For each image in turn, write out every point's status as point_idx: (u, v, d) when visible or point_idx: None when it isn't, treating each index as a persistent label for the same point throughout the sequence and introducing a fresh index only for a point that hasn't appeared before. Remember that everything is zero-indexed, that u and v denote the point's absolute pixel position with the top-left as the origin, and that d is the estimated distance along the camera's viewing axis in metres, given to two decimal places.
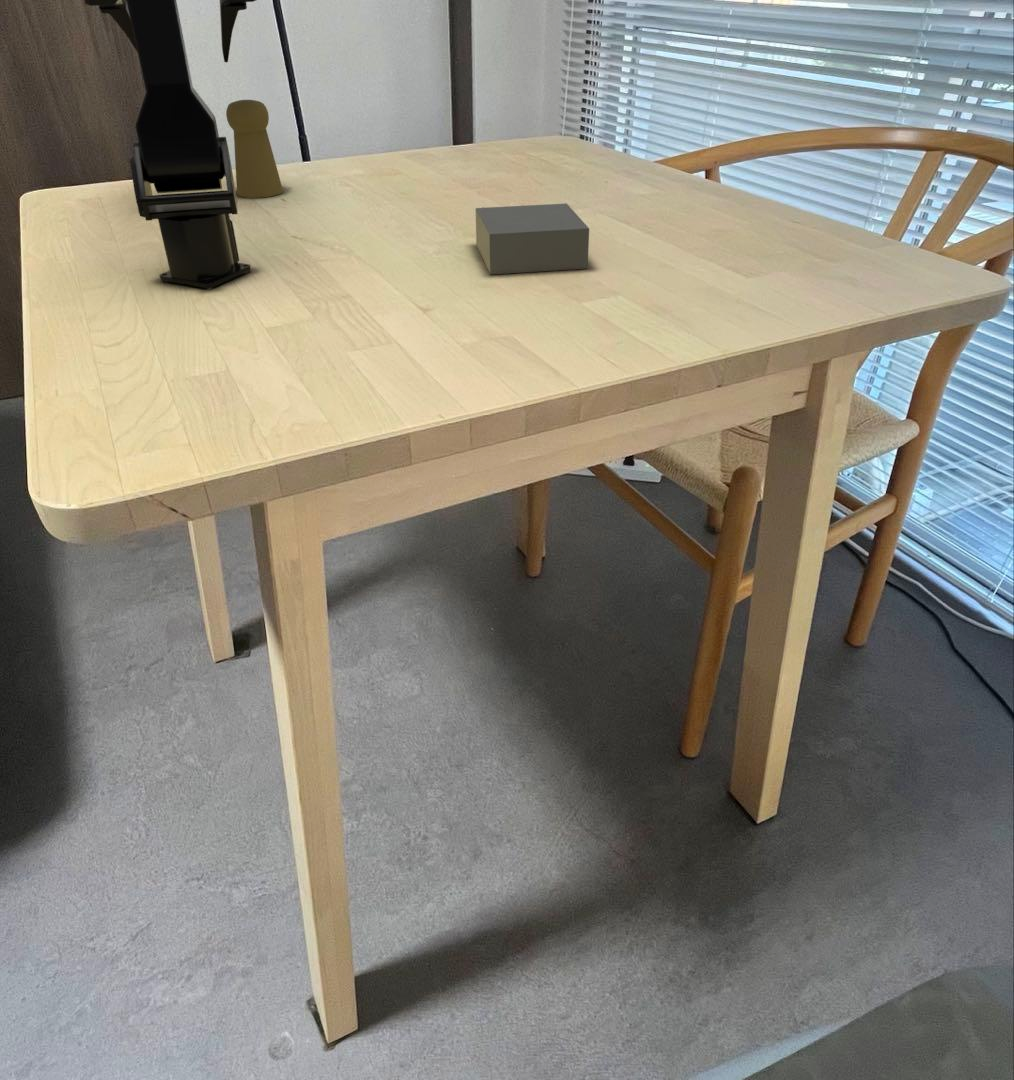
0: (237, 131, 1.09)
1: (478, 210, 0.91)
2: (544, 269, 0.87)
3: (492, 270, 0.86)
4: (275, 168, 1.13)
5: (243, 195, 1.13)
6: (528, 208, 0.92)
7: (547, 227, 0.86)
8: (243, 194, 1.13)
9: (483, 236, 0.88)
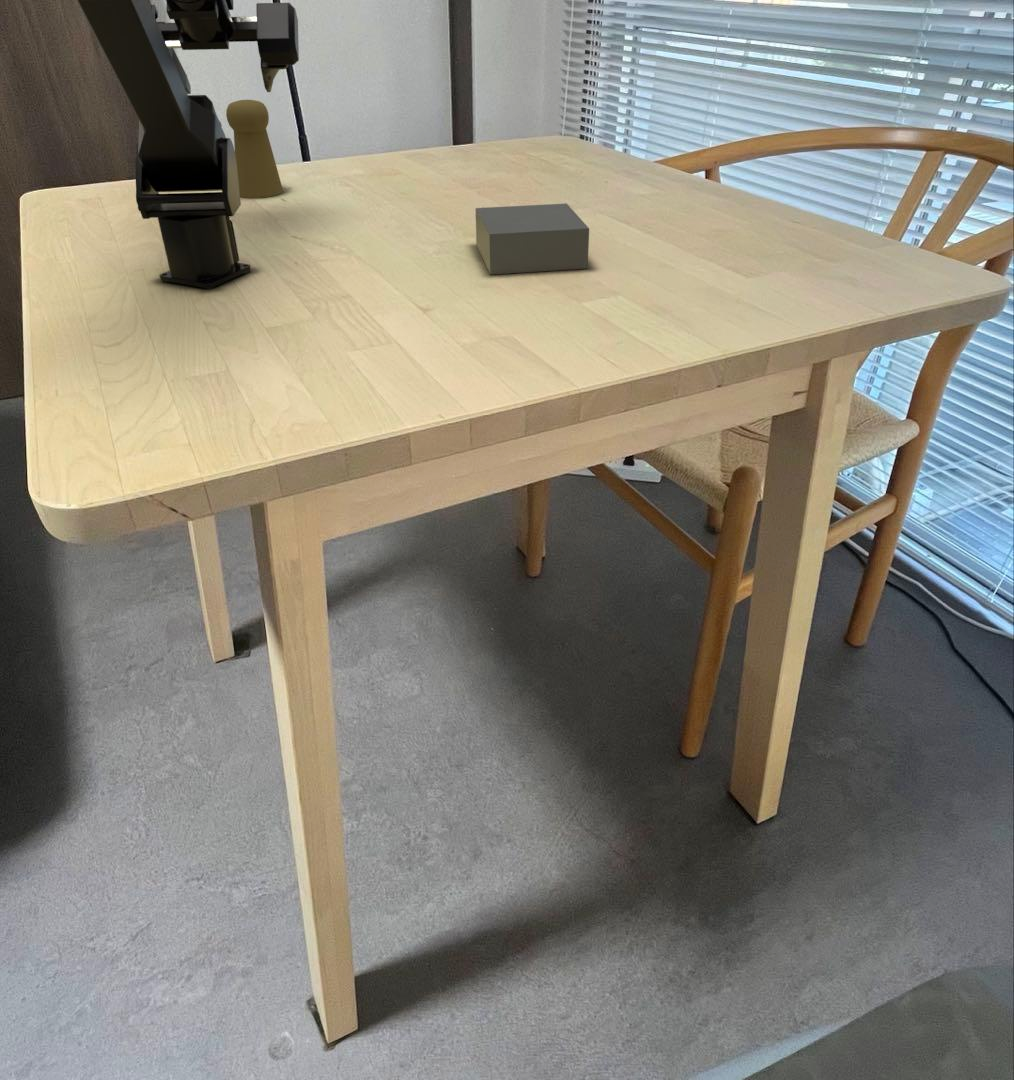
0: (237, 131, 1.09)
1: (478, 210, 0.91)
2: (544, 269, 0.87)
3: (492, 270, 0.86)
4: (275, 168, 1.13)
5: (243, 195, 1.13)
6: (528, 208, 0.92)
7: (547, 227, 0.86)
8: (243, 194, 1.13)
9: (483, 236, 0.88)
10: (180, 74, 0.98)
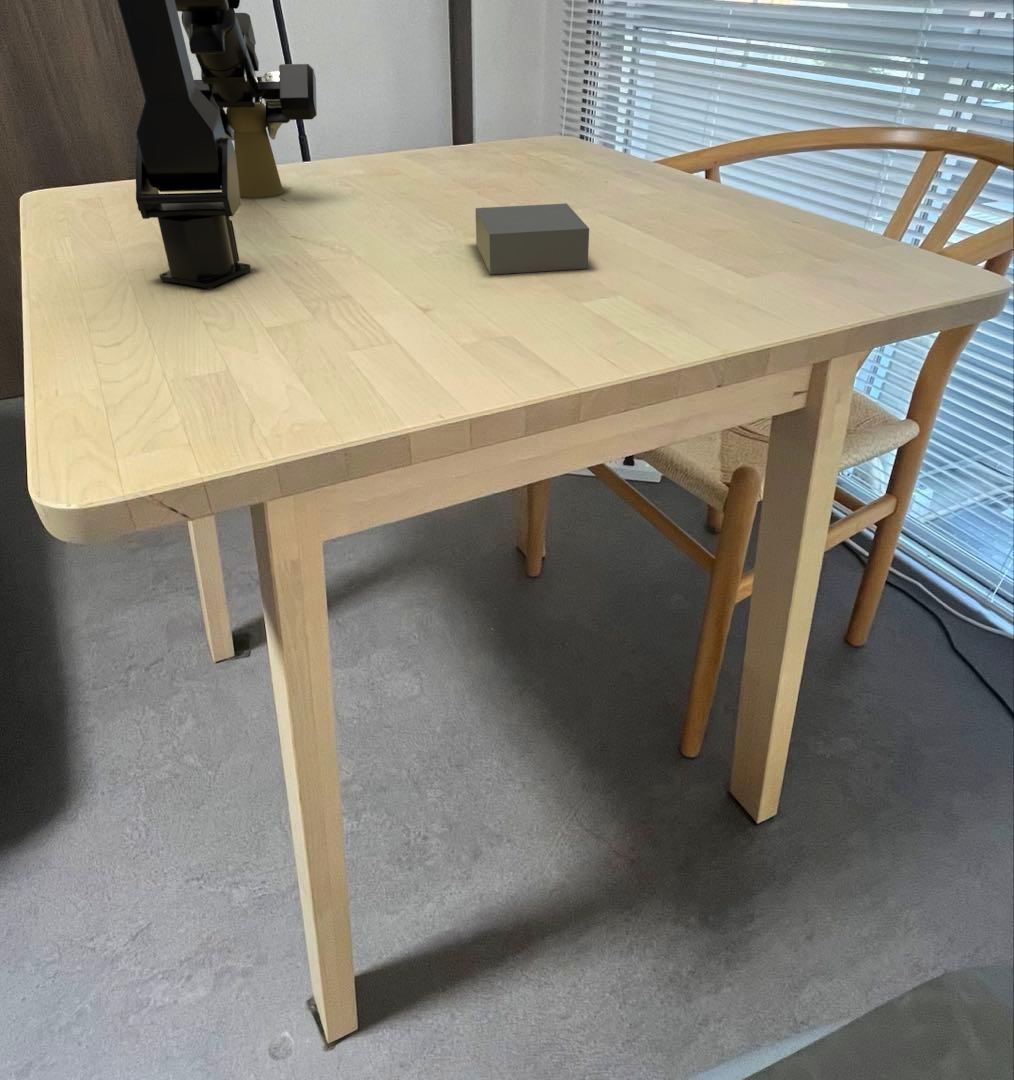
0: (237, 131, 1.09)
1: (478, 210, 0.91)
2: (544, 269, 0.87)
3: (492, 270, 0.86)
4: (275, 168, 1.13)
5: (243, 195, 1.13)
6: (528, 208, 0.92)
7: (547, 227, 0.86)
8: (243, 194, 1.13)
9: (483, 236, 0.88)
10: (226, 124, 1.09)
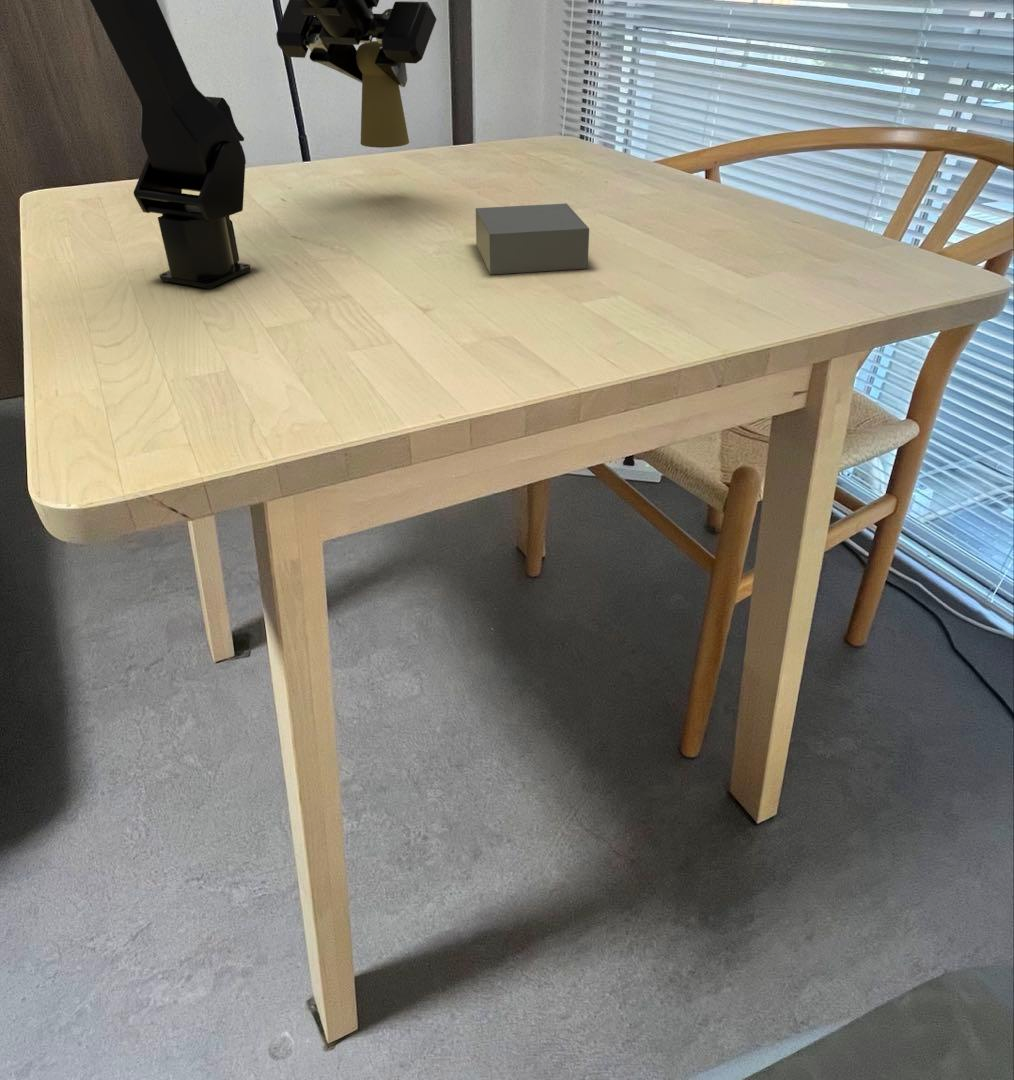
0: (363, 73, 1.03)
1: (478, 210, 0.91)
2: (544, 269, 0.87)
3: (492, 270, 0.86)
4: (398, 118, 1.05)
5: (362, 143, 1.07)
6: (528, 208, 0.92)
7: (547, 227, 0.86)
8: (362, 142, 1.07)
9: (483, 236, 0.88)
10: (355, 66, 1.03)
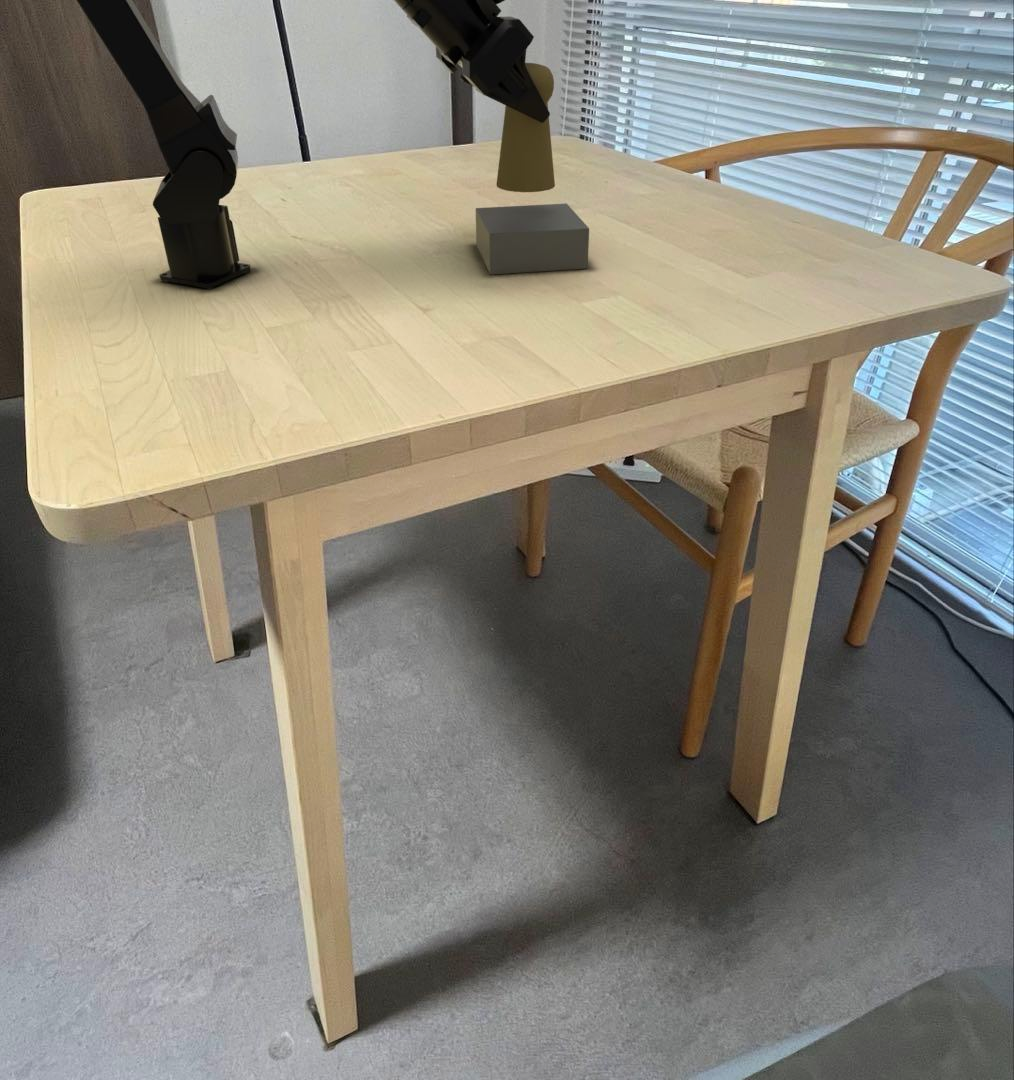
0: None
1: (478, 210, 0.91)
2: (544, 269, 0.87)
3: (492, 270, 0.86)
4: (528, 159, 0.85)
5: None
6: (528, 208, 0.92)
7: (547, 227, 0.86)
8: None
9: (483, 236, 0.88)
10: None
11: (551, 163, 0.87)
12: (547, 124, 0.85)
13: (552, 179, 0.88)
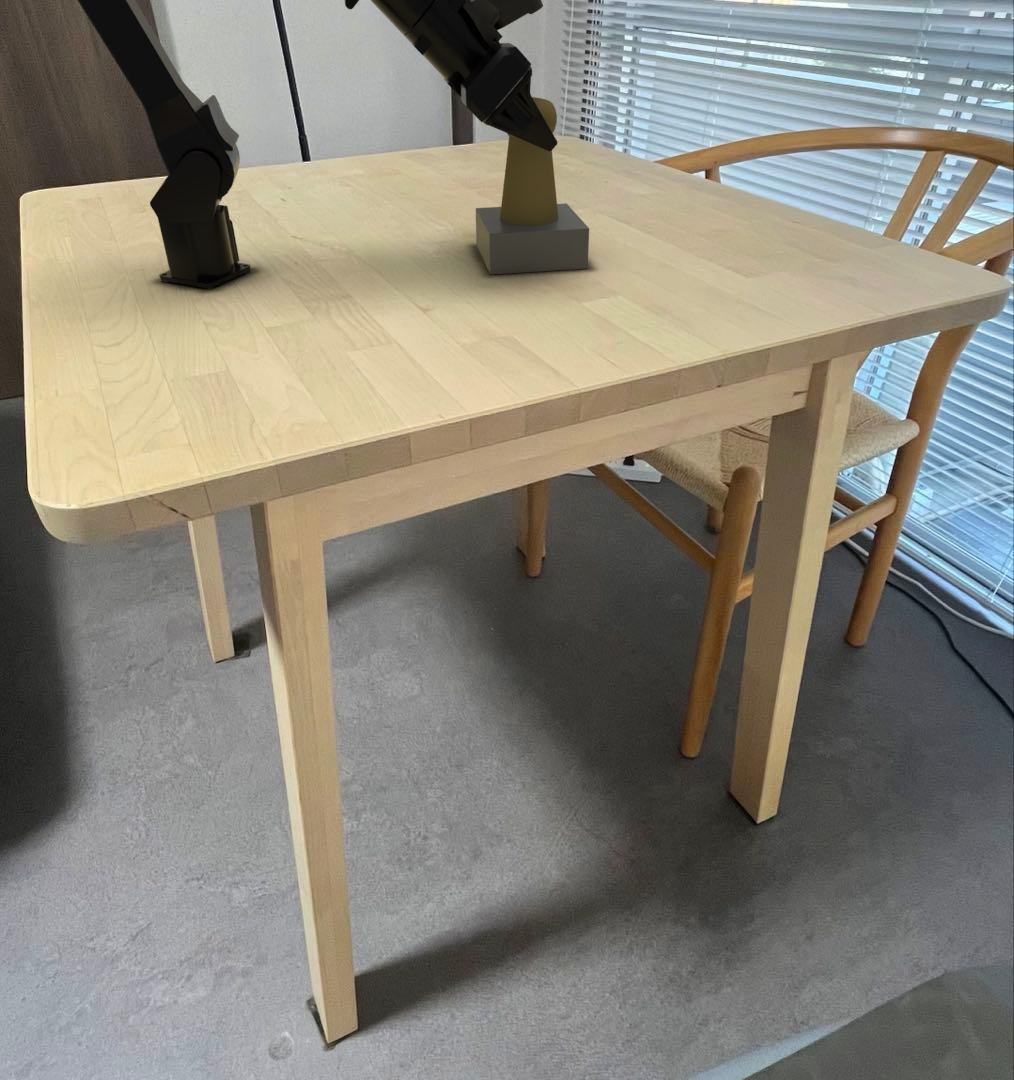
0: None
1: (478, 210, 0.91)
2: (544, 269, 0.87)
3: (492, 270, 0.86)
4: (530, 193, 0.85)
5: None
6: None
7: (547, 227, 0.86)
8: None
9: (483, 236, 0.88)
10: None
11: (554, 196, 0.87)
12: (550, 158, 0.84)
13: (555, 212, 0.87)
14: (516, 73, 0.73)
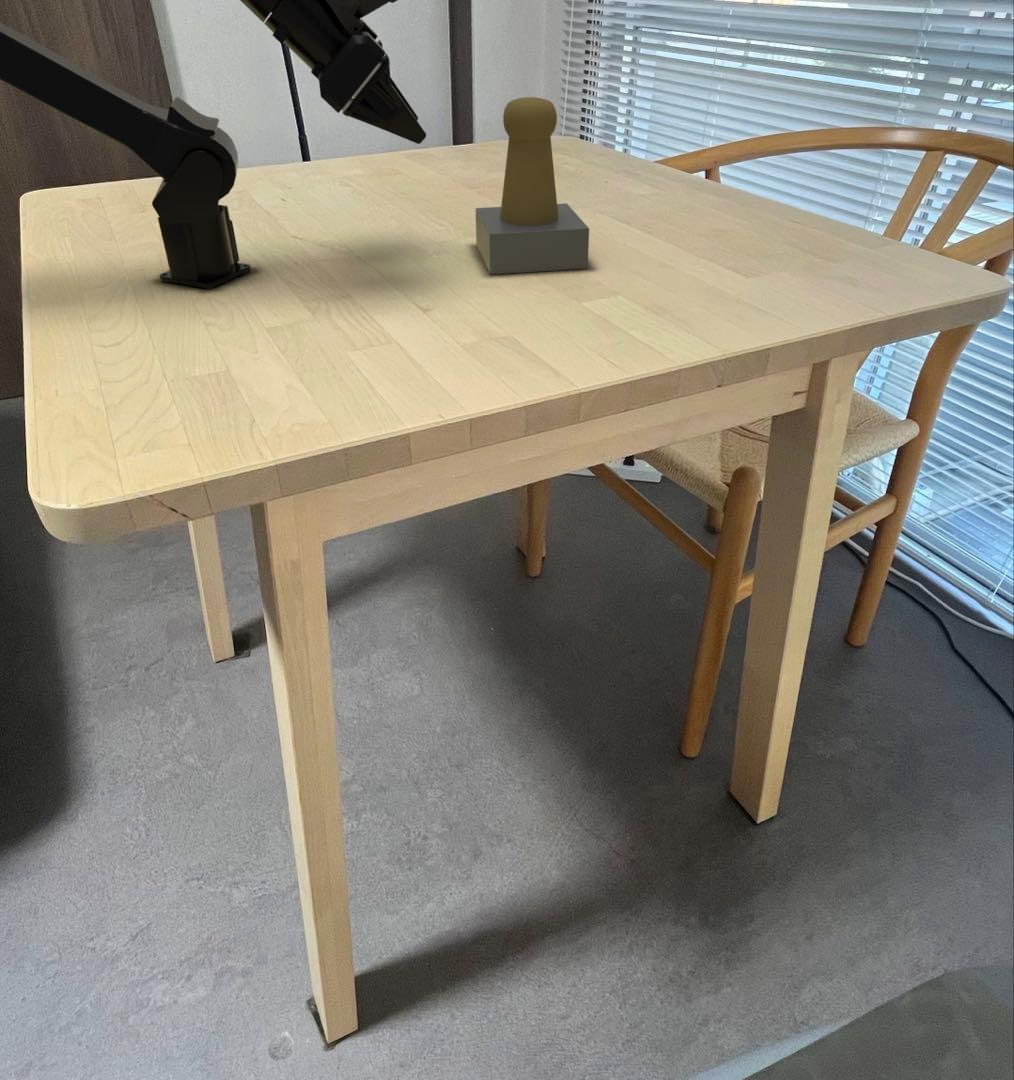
0: None
1: (478, 210, 0.91)
2: (544, 269, 0.87)
3: (492, 270, 0.86)
4: (530, 193, 0.85)
5: None
6: None
7: (547, 227, 0.86)
8: None
9: (483, 236, 0.88)
10: None
11: (554, 196, 0.87)
12: (550, 158, 0.84)
13: (555, 212, 0.87)
14: (369, 62, 0.71)
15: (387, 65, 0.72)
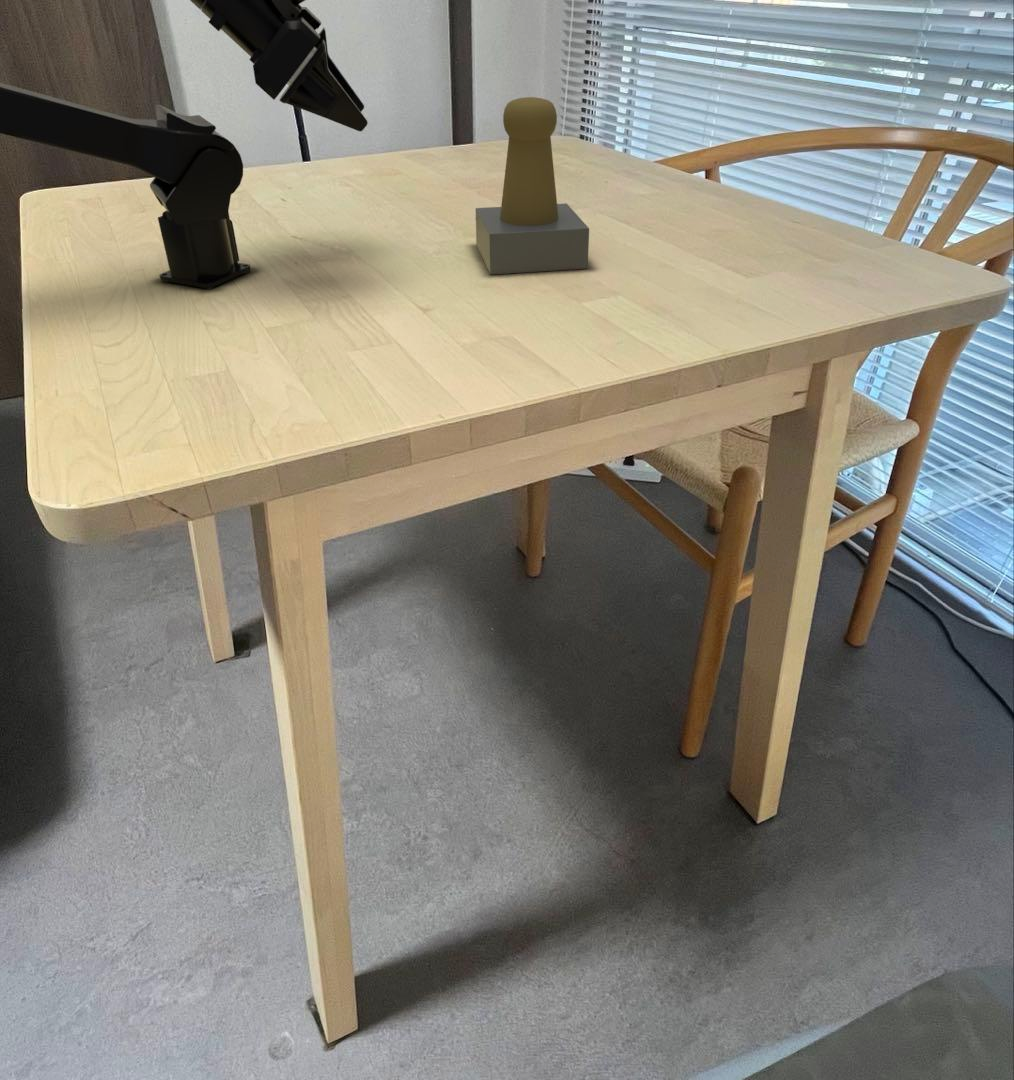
0: None
1: (478, 210, 0.91)
2: (544, 269, 0.87)
3: (492, 270, 0.86)
4: (530, 193, 0.85)
5: None
6: None
7: (547, 227, 0.86)
8: None
9: (483, 236, 0.88)
10: None
11: (554, 196, 0.87)
12: (550, 158, 0.84)
13: (555, 212, 0.87)
14: (303, 48, 0.70)
15: (322, 51, 0.72)
